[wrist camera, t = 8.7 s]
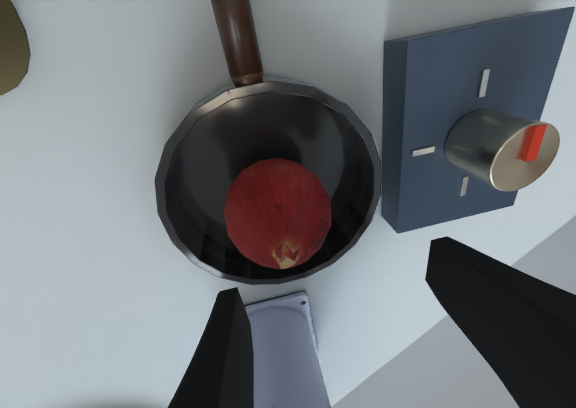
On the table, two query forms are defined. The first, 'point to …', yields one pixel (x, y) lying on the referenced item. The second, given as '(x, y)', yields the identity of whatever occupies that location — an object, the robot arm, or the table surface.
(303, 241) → the red pomegranate
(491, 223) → the table surface
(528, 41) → the blue control panel
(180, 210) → the skillet
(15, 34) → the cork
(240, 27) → the skillet handle
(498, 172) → the knob
